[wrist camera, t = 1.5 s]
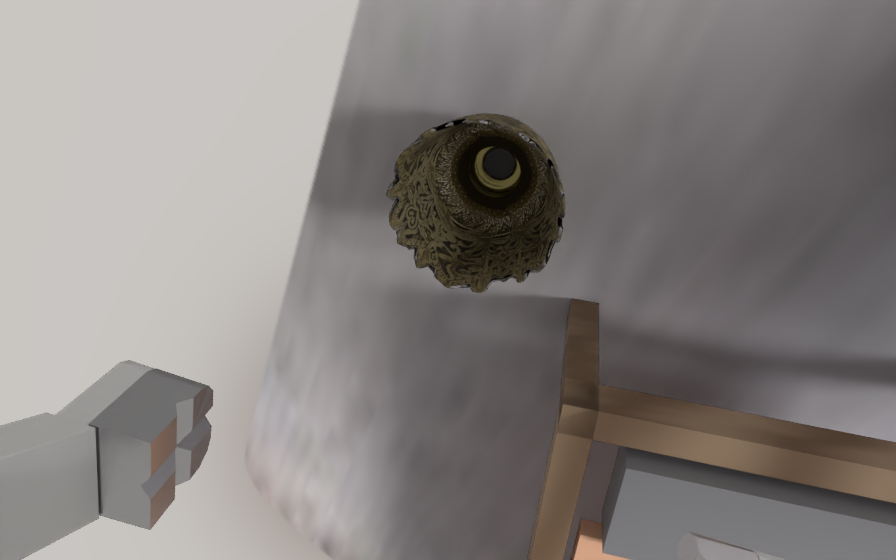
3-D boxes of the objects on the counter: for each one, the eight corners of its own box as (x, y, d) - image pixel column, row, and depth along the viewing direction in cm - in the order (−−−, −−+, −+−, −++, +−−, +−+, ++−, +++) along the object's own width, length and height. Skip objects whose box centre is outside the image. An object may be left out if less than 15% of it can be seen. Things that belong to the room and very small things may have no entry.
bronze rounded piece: (451, 241, 35) (414, 305, 28) (413, 111, 33) (362, 145, 25) (584, 215, 33) (581, 278, 26) (555, 73, 30) (542, 100, 23)
